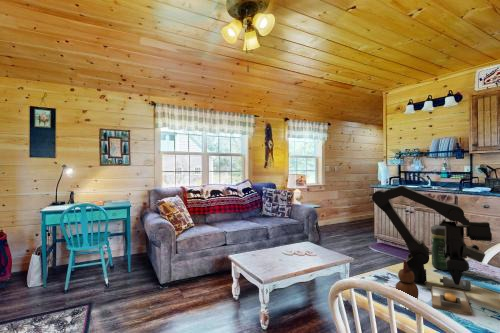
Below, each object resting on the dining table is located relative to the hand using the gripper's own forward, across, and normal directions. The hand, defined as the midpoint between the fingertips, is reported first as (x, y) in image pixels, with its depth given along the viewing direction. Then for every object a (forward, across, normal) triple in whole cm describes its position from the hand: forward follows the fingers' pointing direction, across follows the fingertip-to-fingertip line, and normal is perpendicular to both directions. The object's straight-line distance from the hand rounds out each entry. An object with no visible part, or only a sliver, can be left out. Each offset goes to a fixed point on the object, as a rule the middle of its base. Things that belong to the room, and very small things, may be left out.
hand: (455, 279), depth 100 cm
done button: (0, -18, +3) cm, 18 cm away
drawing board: (+3, -13, +3) cm, 14 cm away
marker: (+3, 0, 0) cm, 3 cm away
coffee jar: (+3, +22, +3) cm, 22 cm away
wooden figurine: (+3, -22, +15) cm, 27 cm away
